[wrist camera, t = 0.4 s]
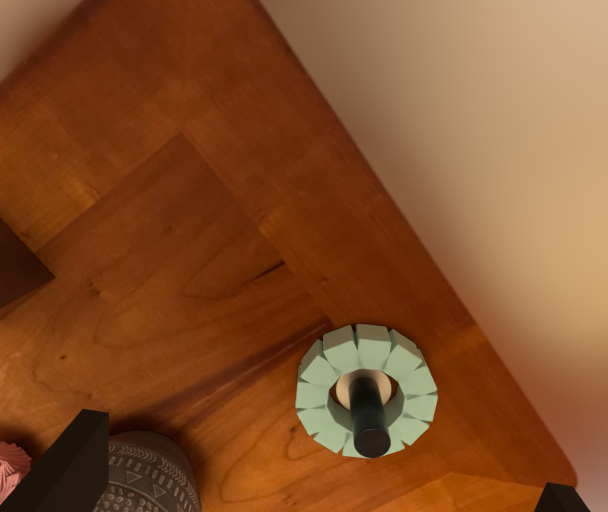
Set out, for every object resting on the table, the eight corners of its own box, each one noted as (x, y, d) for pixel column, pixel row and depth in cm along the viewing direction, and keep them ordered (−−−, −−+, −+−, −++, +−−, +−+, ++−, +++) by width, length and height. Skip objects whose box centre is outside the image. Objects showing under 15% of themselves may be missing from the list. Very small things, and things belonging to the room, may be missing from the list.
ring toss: (338, 355, 31) (342, 412, 25) (394, 361, 31) (412, 419, 25) (332, 402, 32) (334, 467, 26) (385, 407, 32) (401, 473, 26)
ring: (303, 318, 30) (301, 333, 28) (439, 331, 30) (449, 347, 28) (293, 428, 33) (291, 450, 31) (416, 440, 33) (423, 464, 31)
